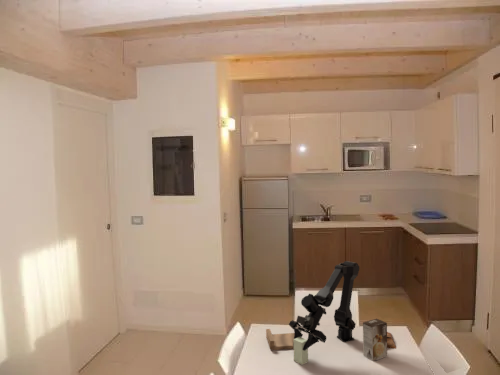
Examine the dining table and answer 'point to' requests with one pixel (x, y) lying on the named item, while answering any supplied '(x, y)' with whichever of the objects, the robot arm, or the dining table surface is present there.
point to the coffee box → (375, 339)
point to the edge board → (280, 340)
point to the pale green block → (300, 351)
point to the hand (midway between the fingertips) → (298, 347)
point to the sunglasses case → (390, 341)
